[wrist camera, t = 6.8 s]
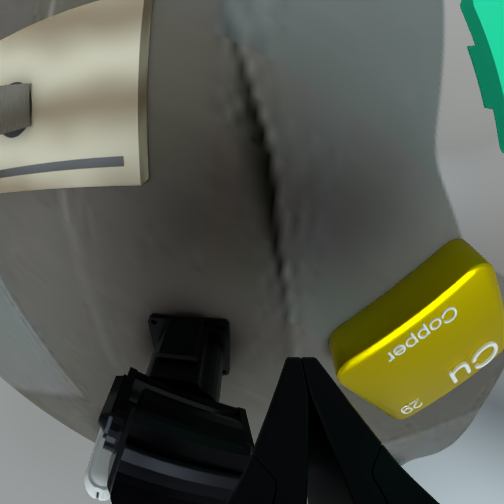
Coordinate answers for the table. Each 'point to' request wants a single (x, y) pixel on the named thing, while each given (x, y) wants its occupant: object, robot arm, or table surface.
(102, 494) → the photo printer
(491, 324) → the element tile
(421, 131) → the table surface
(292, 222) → the table surface
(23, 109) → the sliding leg
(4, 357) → the table surface
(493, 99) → the camera mount
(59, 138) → the bolt plate
